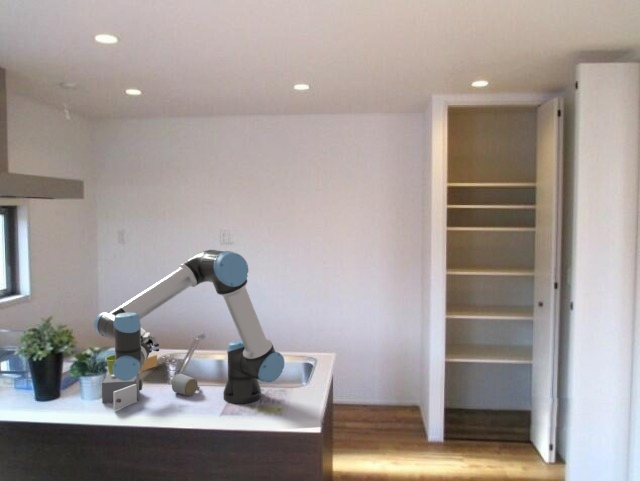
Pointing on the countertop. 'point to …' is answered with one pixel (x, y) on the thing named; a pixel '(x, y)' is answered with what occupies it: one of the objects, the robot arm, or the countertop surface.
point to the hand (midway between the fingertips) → (148, 336)
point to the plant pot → (110, 363)
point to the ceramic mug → (184, 385)
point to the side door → (132, 387)
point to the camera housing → (115, 386)
